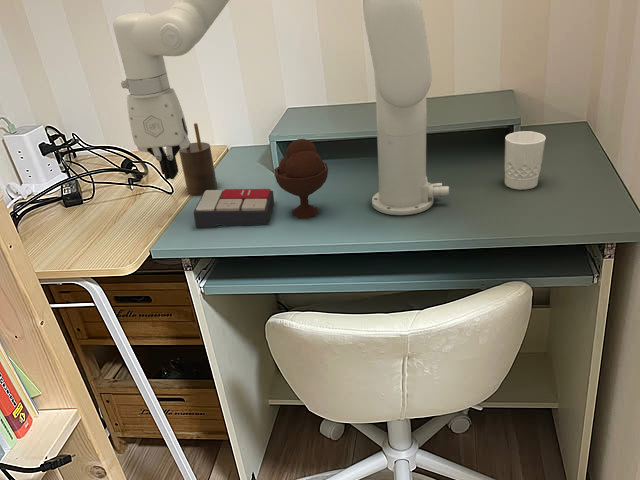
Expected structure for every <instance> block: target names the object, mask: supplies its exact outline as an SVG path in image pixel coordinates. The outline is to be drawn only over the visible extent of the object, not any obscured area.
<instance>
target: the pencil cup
mask: <svg viewBox="0 0 640 480" xmlns="http://www.w3.org/2000/svg"><path fill="white" fill-rule="evenodd" d="M193 128H194V133H195V138H196V142H190V143H191V144H190V146H189V147H188V148H185V149H182V150H179V151H178V153H179V158H180V163H181V167H182V172H183V177H184V182H185V186H186V191H187V194H188V195H191V196H202V195H203V193H204V191H206V190H218V181H217V177H216V171H215V165H214V160H213V154H212V148H211V144H209V143H208V142H202V140H201V137H200V136H201V135H200V130H199V124H198V123H197V122H195V123H193ZM188 136H189V135H188ZM188 136H187V137H188ZM188 138H189V137H188Z"/></svg>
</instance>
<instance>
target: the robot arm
mask: <svg viewBox="0 0 640 480" xmlns="http://www.w3.org/2000/svg"><path fill="white" fill-rule="evenodd" d="M229 2H230V0H175V2H174V3H173V4H172V6H170V7H168V8H167V9H165V10H164V11H161V12H159V13H155V14H151V13H149V12H145V11H144V12H143V11H142V12H141V11H140V12H139V11H138V12H137V11H136V12H130V13H125V14H122V15H119V16H116V17H115V18H114V19H113V22H112V26H113V33H114V36H115V40H116V43H117V47H118V52H119V55H120V59H121V62H122V65H123V70H124V74H125V80H121V81H120V84H121V85H120V86H121V88H122V89H127V90H128V92H129V94H127V96H126V105H127V114H128V121H129V127H130V131H131V136H132V140H133V143H134V145H135V146H136V147H137V150H138V151H139V152H144V153H149V154H150V155H151V156H153V157H154V158H155V159H156V161H158V162H159V167H160V170H161V174H162V175H163V176H164V179H165V180H166V181H168V180H175V178H176V177H177V175H178V174H179V166H178V162H177V158H176V156H177V154H178V153H179V150H182V149H185V148H188V147H189V146H190V144H191V143H192V142H191V141H190V138H189V137H187V136H189V131H188V126H187V121H186V118H185V115H184V112H183V109H182V105H181V103H180V101H179V98H178V95H177V94H176V92H175V89H174V88H173V87H172V88H171V85H170V80H169V77H168V72H167V68H166V63H165V59H164V57H181V56H184V55H186V54H188V53H189V52H190V51H192V49H193V48H194V47H195V46H196V45H197V44H198V43H199V42H201V40H202V39H203V37H204V36H205V35H206V33H207V32H208V31H209V29H210V27H211V26H212V25H213V24H214V22H215V21H216V20H217V18H218V17H219V16H220V14H221V13H222V12H223V10H224V9H225V7H226V6H227V5H228V3H229ZM362 14H363V21H364V27H365V30H366V31H365V32H366V36H367V41H368V46H369V51H370V57H371V61H372V67H373V71H374V72H373V73H374V74H373V75H374V87H375V109H376V110H375V111H376V139H377V143H376V145H377V164H378V165H377V168H378V169H377V170H378V173H377V174H378V192H376V193H375V194H374V195H373V196H372V198H371V205H372V208H373V209H374V210H376V211H377V212H380V213H381V214H385V215H392V216H409V215H416V214H419V213H423V212H425V211H427V210H429V209H430V208H431V207H432V206H433V205H434V197H437V196H438V197H448V196H450V186H449V185H444V186H443V183H442V182H435V183H431V182H428V176H427V127H428V126H427V125H428V124H427V123H428V118H427V117H428V115H427V114H428V112H427V111H428V109H427V107H428V106H427V94H428V92H429V90H430V88H431V86H432V85H431V84H432V80H433V79H432V78H433V77H432V76H433V75H432V73H433V72H432V65H431V58H430V51H429V43H428V38H427V37H428V36H427V30H426V24H425V17H424V11H423V6H422V2H421V0H362Z"/></svg>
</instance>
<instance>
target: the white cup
mask: <svg viewBox="0 0 640 480" xmlns="http://www.w3.org/2000/svg"><path fill="white" fill-rule="evenodd" d="M546 140H547V138H546V135H544V134H543V133H541V132H536V131H527V130H526V131H525V130H524V131H514V132H512V133H511V132H510V133H508V134H506V135H505V138H504V185H505V186H506V187H508V188H510V189H513V190H521V191H523V190H530V189H534V188H536V187H538V184H539V178H540V174H541V170H542V169H541V168H542V165H543V158H544V151H545V147H546V146H545V145H546Z"/></svg>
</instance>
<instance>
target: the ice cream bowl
mask: <svg viewBox="0 0 640 480" xmlns="http://www.w3.org/2000/svg"><path fill="white" fill-rule="evenodd" d="M328 175H329V167H328V164H327V162H324V161H323V158H322V157H321V156H320V155H319V153H318V150H317V148H316V144H315V143H313V142H312V141H311V140H309V139H306V138H298V139H296V140H292V141H291V143H290V144H289V145H288V146H287V147H286V149H285V155H284V156H283V157H282V158H281V159H280V160H279V164H278V166H277V167H275V168H274V177H275V180H276V182H277V185H278V186H279V187H280V188H281V189H282V190H284V192H287V193H288V194H291V195H293V196H296V197H298V199H299V203H300V205H298V206H296V207H295V208H294V209H293V210H292V216H293V217H294V218H297V219H309V218H313V217H316V216H317V215H318V214H319V209H318V207H317V206H315V205H312V204H310V203H309V202H310V201H309V196H310V195H312V194H314V193H315V192H317V191H318V190H319V189H321V188H322V187H323V185H324V184H325V183H326V181H327V178H328Z"/></svg>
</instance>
